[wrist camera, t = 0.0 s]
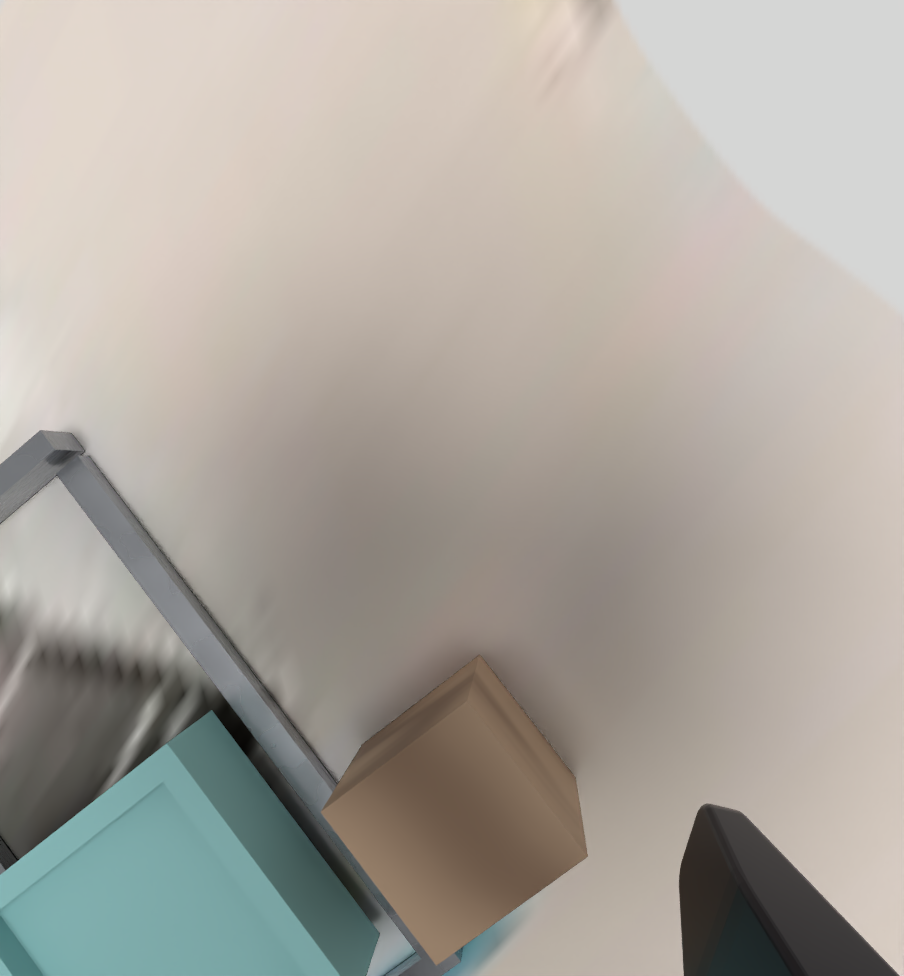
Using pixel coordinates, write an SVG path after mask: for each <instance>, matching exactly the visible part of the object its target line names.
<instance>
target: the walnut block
mask: <svg viewBox="0 0 904 976" xmlns="http://www.w3.org/2000/svg"><path fill="white" fill-rule="evenodd" d="M321 813H322V815H323V816H324V817H325V819H326V820H327V821H328V823H329V824H330V825H331V827H332V828H333V829H334V831H335V832H336V833H337V835H338V836H339V837H340V839H341V840H342V841H343V842H344V844H345V845H346V846H347V848H348V849H349V850H350V852H351V853H352V854H353V856H354V857H355V858H356V860H357V861H358V862H359V864H360V865H361V866H362V868H363V869H364V870H365V872H366V873H367V874H368V876H369V877H370V878H371V880H372V881H373V882H374V884H375V885H376V886H377V888H378V889H379V890H380V892H381V893H382V894H383V896H384V897H385V898H386V900H387V901H388V902H389V903H390V905H391V906H392V907H393V909H394V910H395V911H396V913H397V914H398V915H399V917H400V918H401V919H402V921H403V922H404V923H405V925H406V926H407V927H408V929H409V930H410V931H411V933H412V934H413V935H414V937H415V938H416V939H417V941H418V942H419V943H420V945H421V946H422V947H423V949H424V950H425V951H426V953H427V954H428V955H429V957H430V958H431V959H432V961H433V962H434V963H435V964H436V966H437V965H438V964H439V963H441V962H442V961H443V960H445V959H446V958H448V957H449V956H450V955H452V954H453V953H455V952H456V951H457V950H459V949H460V948H462V947H463V946H464V945H466V944H467V943H468V942H470V941H471V940H473V939H474V938H475V937H477V936H478V935H480V934H481V933H482V932H484V931H485V930H487V929H488V928H489V927H491V926H492V925H493V924H495V923H496V922H498V921H499V920H500V919H502V918H503V917H505V916H506V915H507V914H509V913H510V912H512V911H513V910H514V909H516V908H517V907H518V906H520V905H521V904H523V903H524V902H525V901H527V900H528V899H530V898H531V897H532V896H534V895H535V894H536V893H538V892H539V891H541V890H542V889H543V888H545V887H546V886H548V885H549V884H550V883H552V882H553V881H555V880H556V879H557V878H559V877H560V876H561V875H563V874H564V873H566V872H567V871H568V870H570V869H571V868H573V867H574V866H575V865H577V864H578V863H580V862H581V861H582V860H584V859H585V858H586V857H588V854H587V848H586V842H585V835H584V829H583V822H582V816H581V810H580V803H579V797H578V790H577V784H576V778H575V776H574V775H573V774H572V773H571V771H570V770H569V769H568V767H567V766H566V765H565V764H564V762H563V761H562V760H561V758H560V757H559V756H558V755H557V753H556V752H555V751H554V749H553V748H552V747H551V746H550V744H549V743H548V742H547V740H546V739H545V738H544V737H543V735H542V734H541V733H540V731H539V730H538V729H537V728H536V726H535V725H534V724H533V722H532V721H531V720H530V719H529V717H528V716H527V715H526V713H525V712H524V711H523V710H522V708H521V707H520V706H519V704H518V703H517V702H516V701H515V699H514V698H513V697H512V695H511V694H510V693H509V692H508V690H507V689H506V688H505V686H504V685H503V684H502V683H501V681H500V680H499V679H498V677H497V676H496V675H495V674H494V672H493V671H492V670H491V668H490V667H489V666H488V665H487V663H486V662H485V661H484V660H483V658H482V657H481V656H480V655H479V656H477V657H476V658H475V659H473V660H472V661H471V662H469V663H468V664H467V665H466V666H464V667H463V668H462V669H460V670H459V671H458V672H456V673H455V674H454V675H452V676H451V677H450V678H449V679H447V680H446V681H445V682H443V683H442V684H441V685H439V686H438V687H437V688H435V689H434V690H433V691H432V692H430V693H429V694H428V695H426V696H425V697H424V698H422V699H421V700H420V701H419V702H417V703H416V704H415V705H413V706H412V707H411V708H409V709H408V710H407V711H405V712H404V713H403V714H402V715H400V716H399V717H398V718H396V719H395V720H394V721H392V722H391V723H390V724H388V725H387V726H386V727H385V728H383V729H382V730H381V731H379V732H378V733H377V734H375V735H374V736H373V737H371V738H370V739H369V740H368V741H366V742H365V743H364V744H362V746H361V747H360V749H359V751H358V752H357V754H356V756H355V757H354V759H353V760H352V762H351V764H350V765H349V767H348V768H347V770H346V772H345V773H344V775H343V777H342V778H341V780H340V781H339V783H338V785H337V786H336V788H335V790H334V791H333V793H332V794H331V796H330V798H329V799H328V801H327V802H326V804H325V806H324V807H323V809H322V811H321Z"/></svg>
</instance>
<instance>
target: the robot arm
mask: <svg viewBox="0 0 904 976" xmlns="http://www.w3.org/2000/svg"><path fill="white" fill-rule="evenodd" d="M679 893H680V911H681V930H682V949H683V968H684V976H899V975H898V974H897V973H896V971H895V970H894V969H893V968H892V967H891V966H890V965H889V964H888V963H887V962H886V961H885V960H884V959H883V958H882V957H881V956H880V955H879V954H878V953H877V952H876V951H875V950H874V949H873V948H872V947H871V946H870V945H869V943H868V942H867V941H866V940H865V939H864V938H863V937H862V936H861V935H860V934H859V933H858V932H857V931H856V930H855V929H854V928H853V927H852V926H851V925H850V924H849V923H848V922H847V921H846V920H845V919H844V918H843V917H842V915H841V914H840V913H839V912H838V911H837V910H836V909H835V908H834V907H833V906H832V905H831V904H830V903H829V902H828V901H827V900H826V899H825V898H824V897H823V896H822V895H821V894H820V893H819V892H818V891H817V890H816V888H815V887H814V886H813V885H812V884H811V883H810V882H809V881H808V880H807V879H806V878H805V877H804V876H803V875H802V874H801V873H800V872H799V871H798V870H797V869H796V868H795V867H794V866H793V865H792V864H791V863H790V862H789V860H788V859H787V858H786V857H785V856H784V855H783V854H782V853H781V852H780V851H779V850H778V849H777V848H776V847H775V846H774V845H773V844H772V843H771V842H770V841H769V840H768V839H767V838H766V837H765V836H764V835H763V834H762V832H761V831H760V830H759V829H758V828H757V827H756V826H755V825H754V824H753V823H752V822H751V821H750V820H749V819H748V818H747V817H746V816H745V815H744V814H743V813H741V812H740V811H737V810H734V809H729V808H725V807H721V806H717V805H712V804H705V805H703V806H701V808H700V809H699V811H698V813H697V815H696V818H695V822H694V825H693V828H692V831H691V834H690V837H689V840H688V843H687V847H686V850H685V853H684V856H683V859H682V863H681V868H680V875H679Z"/></svg>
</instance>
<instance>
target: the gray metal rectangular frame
mask: <svg viewBox="0 0 904 976" xmlns="http://www.w3.org/2000/svg"><path fill="white" fill-rule="evenodd" d="M83 452H85V451H84V449H83V448H82V447H81V445H80V444H79V443H78V441H77V440H76V439H75V437H74V436H73V435H72V433H65V432H54V431H44V430H40V431H39V432H38V433H37V434H35V435H34V436H33V437H32V438H31V439H30V440H28V441H27V442H26V443H25V444H24V445H23V446H21V447H20V448H19V449H18V450H17V451H16V452H14V453H13V454H12V455H11V456H10V457H9V458H8V459H6V460H5V461H4V462H3V463H2V464H1V465H0V523H1V522H2V521H4V520H5V519H6V518H7V517H8V516H9V515H11V514H12V513H13V512H14V511H15V510H17V509H18V508H19V507H20V506H21V505H22V504H24V503H25V502H26V501H27V500H28V499H29V498H31V497H32V496H33V495H34V494H35V493H36V492H38V491H39V490H40V489H41V488H42V487H44V486H45V485H46V484H47V483H48V482H49V481H51V480H52V479H53V478H54V477H55V476H56V475H57V476H58V477H59V478H60V480H61V481H62V482H63V484H64V485H65V486H66V488H67V489H68V490H69V492H70V493H71V494H72V496H73V497H74V498H75V500H76V501H77V502H78V504H79V505H80V506H81V508H82V509H83V510H84V512H85V513H86V514H87V516H88V517H89V518H90V520H91V521H92V522H93V524H94V525H95V526H96V528H97V529H98V530H99V532H100V533H101V534H102V536H103V537H104V538H105V540H106V541H107V542H108V544H109V545H110V546H111V548H112V549H113V550H114V551H115V553H116V554H117V555H118V557H119V558H120V559H121V561H122V562H123V563H124V565H125V566H126V567H127V569H128V570H129V571H130V573H131V574H132V575H133V577H134V578H135V579H136V581H137V582H138V583H139V585H140V586H141V587H142V589H143V590H144V591H145V593H146V594H147V595H148V597H149V598H150V599H151V601H152V602H153V603H154V605H155V606H156V607H157V609H158V610H159V611H160V613H161V614H162V615H163V617H164V618H165V619H166V620H167V622H168V623H169V624H170V626H171V627H172V628H173V630H174V631H175V632H176V634H177V635H178V636H179V638H180V639H181V640H182V642H183V643H184V644H185V646H186V647H187V648H188V650H189V651H190V652H191V654H192V655H193V656H194V658H195V659H196V660H197V662H198V663H199V664H200V666H201V667H202V668H203V670H204V671H205V672H206V674H207V675H208V676H209V678H210V679H211V680H212V682H213V683H214V684H215V686H216V687H217V688H218V690H219V691H220V692H221V693H222V695H223V696H224V697H225V699H226V700H227V701H228V703H229V704H230V705H231V707H232V708H233V709H234V711H235V712H236V713H237V715H238V716H239V717H240V719H241V720H242V721H243V723H244V724H245V725H246V727H247V728H248V729H249V731H250V732H251V733H252V735H253V736H254V737H255V739H256V740H257V741H258V743H259V744H260V745H261V747H262V748H263V749H264V751H265V752H266V753H267V755H268V756H269V757H270V759H271V760H272V761H273V762H274V764H275V765H276V766H277V768H278V769H279V770H280V772H281V773H282V774H283V776H284V777H285V778H286V780H287V781H288V782H289V784H290V785H291V786H292V788H293V789H294V790H295V792H296V793H297V794H298V796H299V797H300V798H301V800H302V801H303V802H304V804H305V805H306V806H307V808H308V809H309V810H310V812H311V813H312V814H313V816H314V817H315V818H316V820H317V821H318V822H319V824H320V825H321V826H322V828H323V829H324V830H325V832H326V833H327V834H328V835H329V837H330V838H331V839H332V841H333V842H334V843H335V845H336V846H337V847H338V849H339V850H340V851H341V853H342V854H343V855H344V857H345V858H346V859H347V861H348V862H349V863H350V865H351V866H352V867H353V869H354V870H355V871H356V873H357V874H358V875H359V877H360V878H361V879H362V881H363V882H364V883H365V885H366V886H367V887H368V889H369V890H370V891H371V893H372V894H373V895H374V897H375V898H376V899H377V901H378V902H379V903H380V904H381V906H382V907H383V908H384V910H385V911H386V912H387V914H388V915H389V916H390V918H391V919H392V920H393V922H394V923H395V924H396V926H397V927H398V928H399V930H400V931H401V932H402V934H403V935H404V936H405V938H406V939H407V940H408V942H409V943H410V944H411V946H412V947H413V948H414V950H415V951H416V953H415V954H414V955H412V956H411V957H409V958H408V959H407V960H405V961H404V962H403V963H401V964H400V965H398V966H397V967H396V968H394V969H393V970H391V971H390V972H389V973H387V974H386V975H385V976H442V975H443V974H444V973H446V972H447V971H449V970H450V969H451V968H453V967H454V966H456V965H457V964H458V963H460V962H461V957H462V948H460V949H459V950H457V951H456V952H455V953H453V954H452V955H450V956H449V957H448V958H446V959H445V960H443V961H442V962H441V963H439V964H438V965H437V966H436V964H435V963H434V962H433V961H432V959H431V958H430V957H429V955H428V954H427V953H426V951H425V950H424V949H423V947H422V946H421V945H420V943H419V942H418V941H417V939H416V938H415V937H414V935H413V934H412V933H411V931H410V930H409V929H408V927H407V926H406V925H405V923H404V922H403V921H402V919H401V918H400V917H399V915H398V914H397V913H396V911H395V910H394V909H393V907H392V906H391V905H390V903H389V902H388V901H387V900H386V898H385V897H384V896H383V894H382V893H381V892H380V890H379V889H378V888H377V886H376V885H375V884H374V882H373V881H372V880H371V878H370V877H369V876H368V874H367V873H366V872H365V870H364V869H363V868H362V866H361V865H360V864H359V862H358V861H357V860H356V858H355V857H354V856H353V854H352V853H351V852H350V850H349V849H348V848H347V846H346V845H345V844H344V842H343V841H342V840H341V839H340V837H339V836H338V835H337V833H336V832H335V831H334V829H333V828H332V827H331V825H330V824H329V823H328V821H327V820H326V819H325V817H324V816H323V815H322V813H321V811H322V809H323V807H324V806H325V804H326V802H327V801H328V799H329V798H330V796H331V794H332V793H333V791H334V790H335V788H336V786H337V783H336V782H335V781H334V779H333V778H332V777H331V775H330V774H329V773H328V771H327V770H326V769H325V767H324V766H323V765H322V763H321V762H320V761H319V759H318V758H317V757H316V756H315V754H314V753H313V752H312V750H311V749H310V748H309V746H308V745H307V744H306V742H305V741H304V740H303V738H302V737H301V736H300V734H299V733H298V732H297V730H296V729H295V728H294V726H293V725H292V724H291V723H290V721H289V720H288V719H287V717H286V716H285V715H284V713H283V712H282V711H281V709H280V708H279V707H278V705H277V704H276V703H275V701H274V700H273V699H272V697H271V696H270V695H269V693H268V692H267V691H266V690H265V688H264V687H263V686H262V684H261V683H260V682H259V680H258V679H257V678H256V676H255V675H254V674H253V672H252V671H251V670H250V668H249V667H248V666H247V664H246V663H245V662H244V660H243V659H242V658H241V657H240V655H239V654H238V653H237V651H236V650H235V649H234V647H233V646H232V645H231V643H230V642H229V641H228V639H227V638H226V637H225V635H224V634H223V633H222V631H221V630H220V629H219V628H218V626H217V625H216V624H215V622H214V621H213V620H212V618H211V617H210V616H209V614H208V613H207V612H206V610H205V609H204V608H203V606H202V605H201V604H200V602H199V601H198V600H197V598H196V597H195V596H194V595H193V593H192V592H191V591H190V589H189V588H188V587H187V585H186V584H185V583H184V581H183V580H182V579H181V577H180V576H179V575H178V573H177V572H176V571H175V569H174V568H173V567H172V565H171V564H170V563H169V562H168V560H167V559H166V558H165V556H164V555H163V554H162V552H161V551H160V550H159V548H158V547H157V546H156V544H155V543H154V542H153V540H152V539H151V538H150V536H149V535H148V534H147V532H146V531H145V530H144V529H143V527H142V526H141V525H140V523H139V522H138V521H137V519H136V518H135V517H134V515H133V514H132V513H131V511H130V510H129V509H128V507H127V506H126V505H125V503H124V502H123V501H122V499H121V498H120V497H119V496H118V494H117V493H116V492H115V490H114V489H113V488H112V486H111V485H110V484H109V482H108V481H107V480H106V478H105V477H104V476H103V474H102V473H101V472H100V470H99V469H98V468H97V466H96V465H95V464H94V463H93V461H92V460H91V459H90V457H89V456H83V455H81V454H82V453H83ZM16 862H17V860H16V858H15V857H14V855H13V854H12V853H11V851H10V850H9V849H8V847H7V846H6V844H5V843H4V842H3V840H2V839H1V838H0V875H1V874H2V873H3V872H5V871H6V870H7V869H8V868H10V867H11V866H12V865H13V864H15V863H16Z"/></svg>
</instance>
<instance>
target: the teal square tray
mask: <svg viewBox="0 0 904 976" xmlns="http://www.w3.org/2000/svg"><path fill="white" fill-rule="evenodd" d="M379 934H380V933H379V932H378V930H377V929H376V928H375V926H374V925H373V924H372V922H371V921H370V920H369V918H368V917H367V916H366V915H365V913H364V912H363V911H362V909H361V908H360V907H359V905H358V904H357V903H356V901H355V900H354V899H353V897H352V896H351V895H350V893H349V892H348V891H347V889H346V888H345V887H344V885H343V884H342V883H341V881H340V880H339V879H338V877H337V876H336V875H335V873H334V872H333V871H332V869H331V868H330V867H329V865H328V864H327V863H326V861H325V860H324V859H323V857H322V856H321V855H320V853H319V852H318V851H317V849H316V848H315V847H314V845H313V844H312V843H311V841H310V840H309V839H308V837H307V836H306V835H305V833H304V832H303V831H302V829H301V828H300V827H299V825H298V824H297V823H296V821H295V820H294V819H293V817H292V816H291V815H290V813H289V812H288V811H287V809H286V808H285V807H284V805H283V804H282V803H281V801H280V800H279V799H278V797H277V796H276V795H275V793H274V792H273V791H272V789H271V788H270V787H269V785H268V784H267V783H266V781H265V780H264V779H263V777H262V776H261V775H260V773H259V772H258V771H257V769H256V768H255V767H254V765H253V764H252V763H251V761H250V760H249V759H248V758H247V756H246V755H245V754H244V752H243V751H242V750H241V748H240V747H239V746H238V744H237V743H236V742H235V740H234V739H233V738H232V736H231V735H230V734H229V732H228V731H227V730H226V728H225V727H224V726H223V724H222V723H221V722H220V720H219V719H218V718H217V716H216V715H215V714H214V712H213V711H212V710H211V711H210V712H208V713H207V714H206V715H204V716H203V717H202V718H200V719H199V720H198V721H196V722H195V723H193V724H192V725H191V726H189V727H188V728H187V729H185V730H184V731H183V732H181V733H180V734H179V735H177V736H176V737H175V738H173V739H172V740H171V741H169V742H168V743H166V744H165V745H164V746H163V747H161V748H160V749H159V750H158V751H156V752H155V753H154V754H153V755H151V756H150V757H149V758H148V759H146V760H145V761H144V762H142V763H141V764H140V765H139V766H137V767H136V768H135V769H134V770H132V771H131V772H130V773H129V774H127V775H126V776H125V777H123V778H122V779H121V780H120V781H118V782H117V783H116V784H115V785H113V786H112V787H111V788H110V789H108V790H107V791H106V792H105V793H103V794H102V795H101V796H99V797H98V798H97V799H96V800H94V801H93V802H92V803H91V804H89V805H88V806H87V807H86V808H84V809H83V810H82V811H80V812H79V813H78V814H77V815H75V816H74V817H73V818H72V819H70V820H69V821H68V822H67V823H65V824H64V825H63V826H62V827H60V828H59V829H58V830H56V831H55V832H54V833H53V834H51V835H50V836H49V837H48V838H46V839H45V840H44V841H43V842H41V843H40V844H39V845H37V846H36V847H35V848H34V849H32V850H31V851H30V852H29V853H27V854H26V855H25V856H24V857H22V858H21V859H20V860H19V861H17V862H16V863H15V864H13V865H12V866H11V867H10V868H8V869H7V870H6V871H5V872H3V873H2V874H1V875H0V976H366V975H367V972H368V968H369V965H370V962H371V959H372V956H373V953H374V950H375V947H376V944H377V941H378V938H379Z"/></svg>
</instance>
